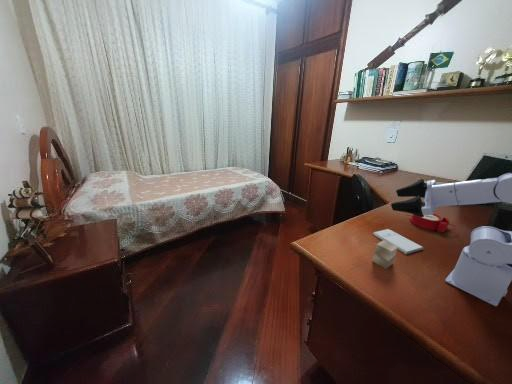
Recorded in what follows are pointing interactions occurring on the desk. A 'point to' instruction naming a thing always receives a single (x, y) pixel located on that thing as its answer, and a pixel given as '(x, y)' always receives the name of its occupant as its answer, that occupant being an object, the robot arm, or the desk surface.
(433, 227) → the alarm clock
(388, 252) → the birch block
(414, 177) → the desk surface
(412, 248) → the external hard drive
